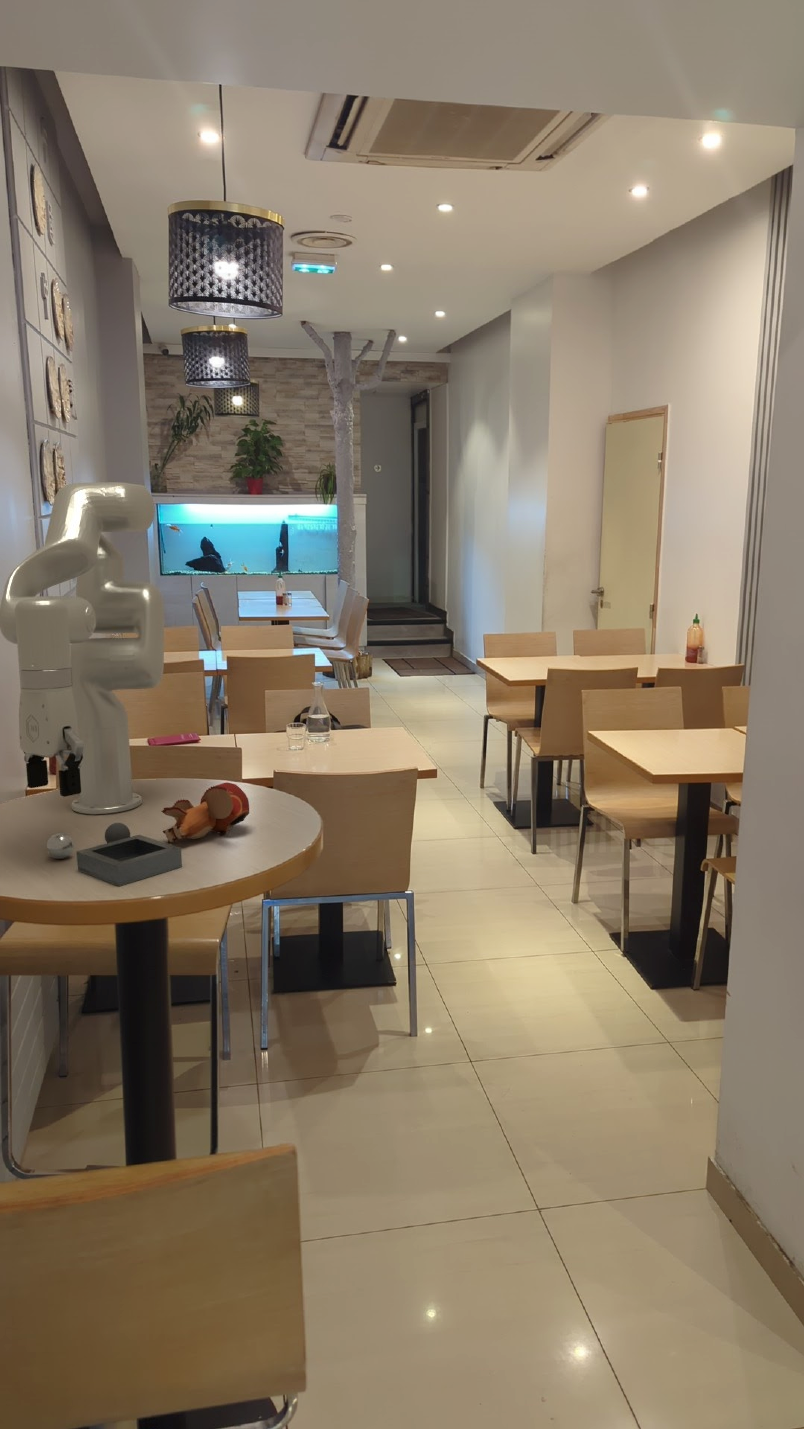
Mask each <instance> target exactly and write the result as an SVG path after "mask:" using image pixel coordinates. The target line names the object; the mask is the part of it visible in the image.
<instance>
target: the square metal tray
mask: <svg viewBox="0 0 804 1429" xmlns="http://www.w3.org/2000/svg"><path fill="white" fill-rule="evenodd" d="M76 862H77V863H76V864H77V871H78V872H81V873H83V874H85V875H88V876H91V877H93V878H96V879H98V880H101V881H104V882H105V883H106V882H107V883H108V884H112V885H114V886H116V887H121V886H124V885H127V884H132V883H134V882H138V881H141V880H144V879H147V878H151V877H153V876H157V875H161V874H163V873H167V872H169V871H173V870H176V869H180V868H182V867H183V863H182V862H183V860H182V848H181V847H179V846H176V845H173V844H171V843H168V842H163V841H161V840H157V839H155V838H151V837H149V836H144V835H141V834H136V835H132V836H130V837H129V838H125V839H121V840H117V841H114V842H110V843H107V842H106V843H102V844H99V845H96V846H92V847H91V846H90V847H87V848H84V849H81V850H77V851H76Z"/></svg>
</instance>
